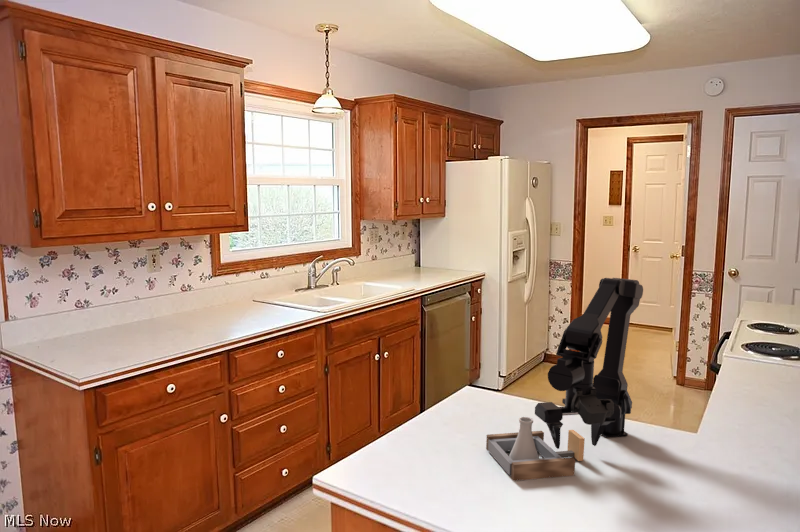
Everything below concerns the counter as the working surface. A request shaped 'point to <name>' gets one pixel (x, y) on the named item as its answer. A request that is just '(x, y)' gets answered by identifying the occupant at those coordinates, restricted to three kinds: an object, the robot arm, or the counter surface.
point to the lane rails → (537, 463)
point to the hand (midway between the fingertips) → (575, 446)
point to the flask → (524, 442)
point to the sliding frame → (502, 445)
